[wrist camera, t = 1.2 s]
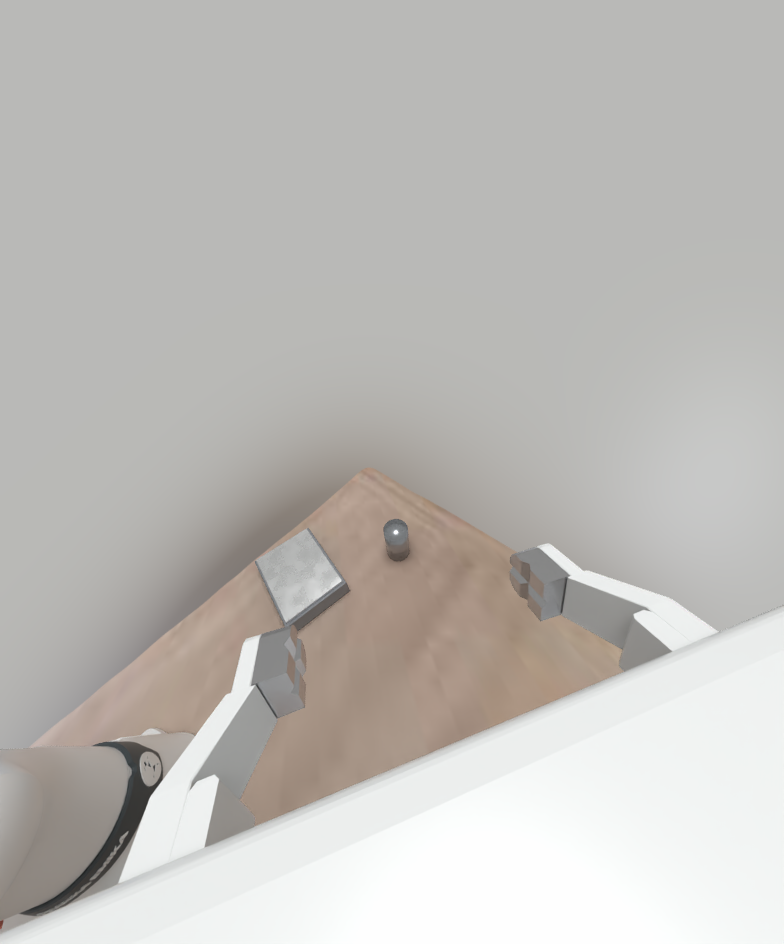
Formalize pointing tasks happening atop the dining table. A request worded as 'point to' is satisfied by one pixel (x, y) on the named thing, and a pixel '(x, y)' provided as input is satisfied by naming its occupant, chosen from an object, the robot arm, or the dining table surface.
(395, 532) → the cylinder
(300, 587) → the kitchen scale
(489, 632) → the dining table surface
